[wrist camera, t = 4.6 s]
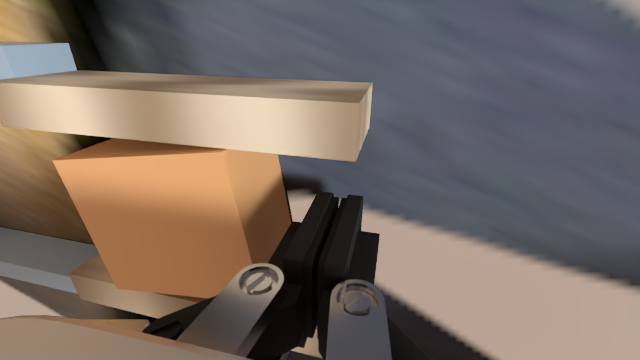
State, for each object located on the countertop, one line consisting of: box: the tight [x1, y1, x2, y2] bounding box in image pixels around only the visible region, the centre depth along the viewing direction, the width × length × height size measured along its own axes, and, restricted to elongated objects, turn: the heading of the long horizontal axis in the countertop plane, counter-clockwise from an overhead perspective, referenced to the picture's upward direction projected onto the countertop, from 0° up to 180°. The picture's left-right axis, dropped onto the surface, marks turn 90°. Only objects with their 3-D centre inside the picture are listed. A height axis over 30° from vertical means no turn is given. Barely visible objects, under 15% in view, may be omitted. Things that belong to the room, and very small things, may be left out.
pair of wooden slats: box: [0, 70, 373, 358], centre depth 13 cm, size 13×10×4 cm
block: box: [52, 138, 293, 298], centre depth 13 cm, size 7×6×4 cm
